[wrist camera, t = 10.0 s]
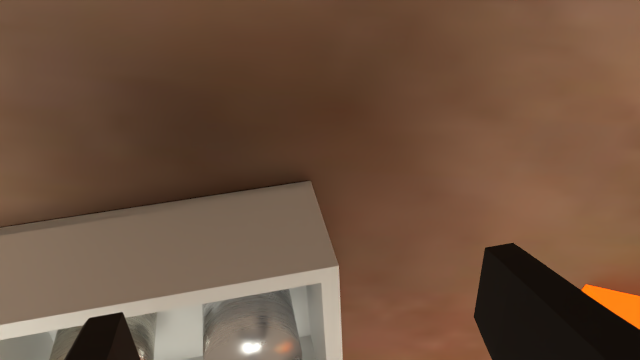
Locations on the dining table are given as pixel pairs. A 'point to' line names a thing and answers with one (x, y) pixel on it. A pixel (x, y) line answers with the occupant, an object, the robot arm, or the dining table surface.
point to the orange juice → (617, 303)
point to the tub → (171, 270)
